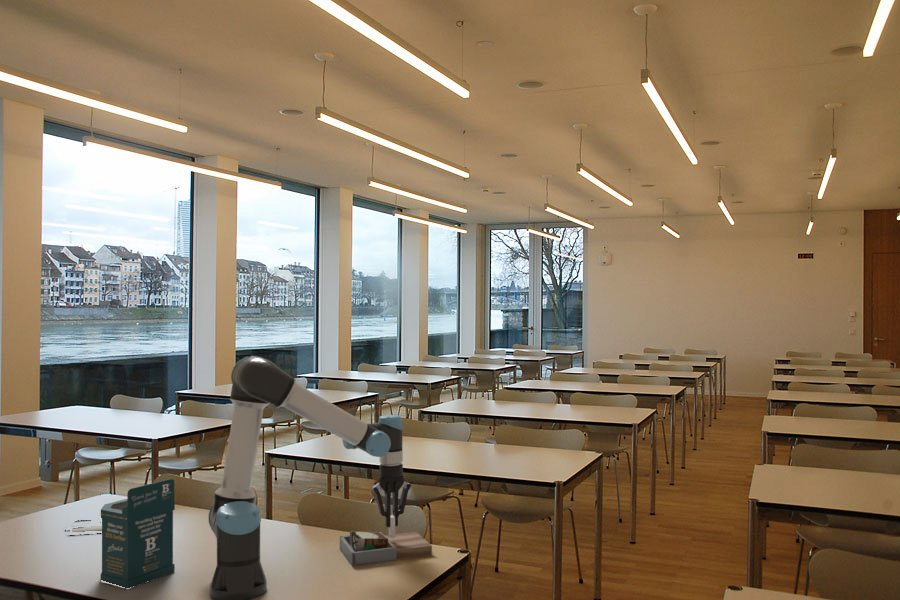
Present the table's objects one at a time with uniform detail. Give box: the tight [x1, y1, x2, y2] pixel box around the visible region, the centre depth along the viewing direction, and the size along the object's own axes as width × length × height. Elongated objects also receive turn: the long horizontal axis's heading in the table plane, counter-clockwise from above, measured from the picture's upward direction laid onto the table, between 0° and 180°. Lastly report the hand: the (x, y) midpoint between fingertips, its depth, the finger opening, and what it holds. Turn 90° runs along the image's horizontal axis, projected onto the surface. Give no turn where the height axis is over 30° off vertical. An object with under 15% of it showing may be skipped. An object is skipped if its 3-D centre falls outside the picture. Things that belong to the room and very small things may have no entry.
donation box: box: [100, 478, 176, 588], centre depth 216 cm, size 16×16×28 cm
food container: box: [349, 530, 388, 552], centre depth 233 cm, size 12×6×10 cm
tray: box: [339, 531, 398, 567], centre depth 233 cm, size 18×14×4 cm
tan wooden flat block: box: [383, 531, 433, 561], centre depth 238 cm, size 16×12×3 cm
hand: (391, 536), depth 236 cm, fingers closed
